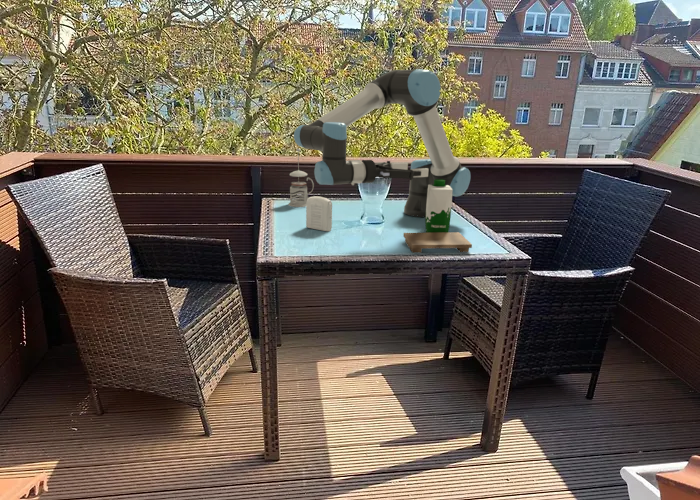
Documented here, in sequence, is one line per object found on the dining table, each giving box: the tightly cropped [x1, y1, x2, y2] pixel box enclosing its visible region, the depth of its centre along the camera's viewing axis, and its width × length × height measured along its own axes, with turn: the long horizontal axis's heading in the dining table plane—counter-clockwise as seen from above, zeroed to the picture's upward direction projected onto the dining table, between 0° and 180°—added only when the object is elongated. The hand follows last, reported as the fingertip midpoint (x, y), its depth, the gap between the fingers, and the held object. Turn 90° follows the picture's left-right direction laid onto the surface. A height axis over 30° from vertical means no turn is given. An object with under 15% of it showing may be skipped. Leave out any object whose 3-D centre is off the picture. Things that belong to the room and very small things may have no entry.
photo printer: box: [305, 195, 333, 232], centre depth 184 cm, size 10×4×12 cm, turn 61°
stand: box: [402, 231, 473, 254], centre depth 168 cm, size 20×14×3 cm
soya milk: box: [424, 179, 453, 233], centre depth 179 cm, size 9×9×20 cm
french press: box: [287, 148, 315, 208], centre depth 219 cm, size 10×12×25 cm
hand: (417, 169), depth 170 cm, fingers open, 13 cm apart
